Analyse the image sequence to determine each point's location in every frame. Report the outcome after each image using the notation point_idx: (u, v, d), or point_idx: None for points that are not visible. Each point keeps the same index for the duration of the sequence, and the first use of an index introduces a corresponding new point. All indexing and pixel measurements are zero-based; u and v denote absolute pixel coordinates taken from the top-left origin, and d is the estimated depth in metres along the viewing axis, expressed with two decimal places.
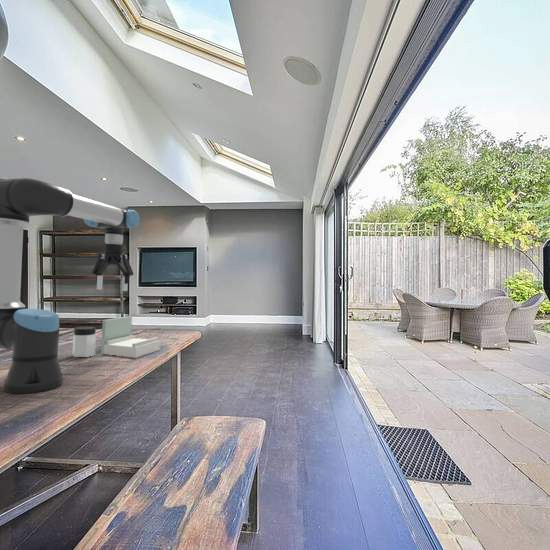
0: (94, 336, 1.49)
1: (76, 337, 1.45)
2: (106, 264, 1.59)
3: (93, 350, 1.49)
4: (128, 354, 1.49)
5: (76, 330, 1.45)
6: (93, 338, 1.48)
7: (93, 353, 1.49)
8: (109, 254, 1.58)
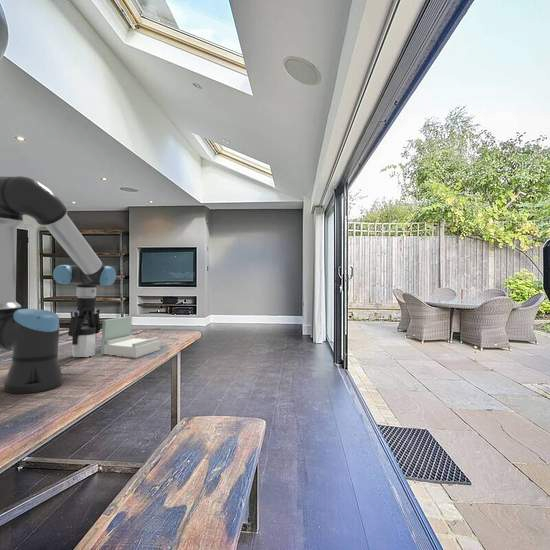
0: (94, 336, 1.49)
1: None
2: (88, 319, 1.51)
3: (93, 350, 1.48)
4: (128, 354, 1.49)
5: None
6: (93, 338, 1.48)
7: (93, 353, 1.48)
8: None
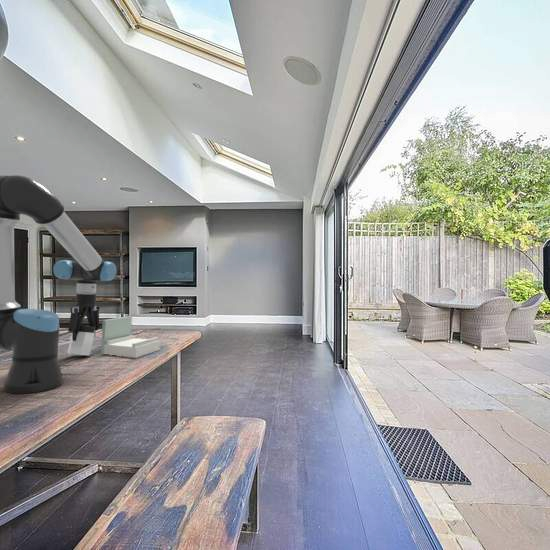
0: (92, 335, 1.48)
1: None
2: (87, 316, 1.51)
3: (89, 349, 1.46)
4: (128, 354, 1.49)
5: None
6: (91, 337, 1.47)
7: (88, 352, 1.46)
8: None
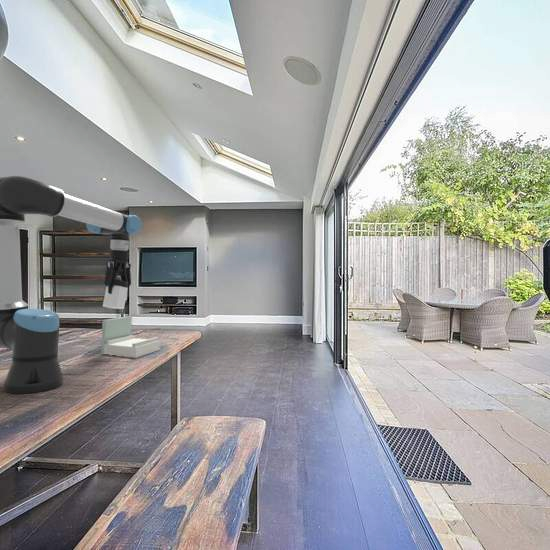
0: (126, 289, 1.55)
1: None
2: (120, 272, 1.58)
3: (123, 303, 1.53)
4: (128, 354, 1.49)
5: None
6: (125, 291, 1.54)
7: (123, 305, 1.53)
8: None
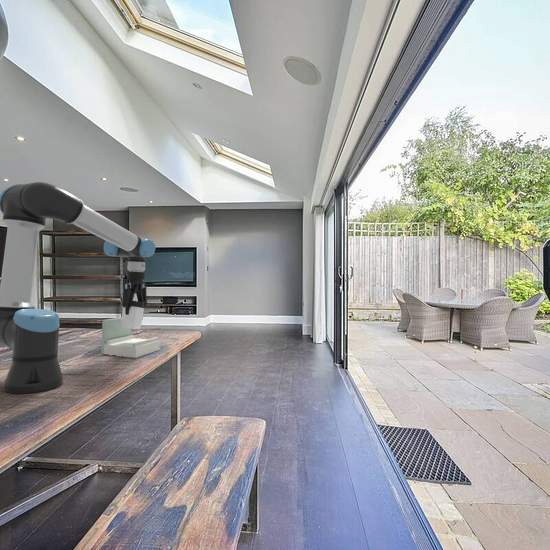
0: (142, 310, 1.58)
1: None
2: (137, 292, 1.61)
3: (140, 323, 1.57)
4: (128, 354, 1.49)
5: None
6: (141, 312, 1.58)
7: (139, 326, 1.57)
8: None
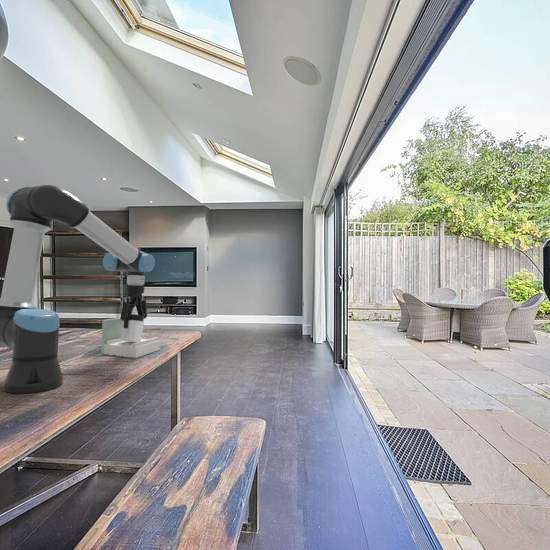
0: (142, 323, 1.59)
1: None
2: (137, 305, 1.61)
3: (140, 336, 1.57)
4: (128, 354, 1.49)
5: None
6: (141, 325, 1.58)
7: (139, 339, 1.57)
8: None
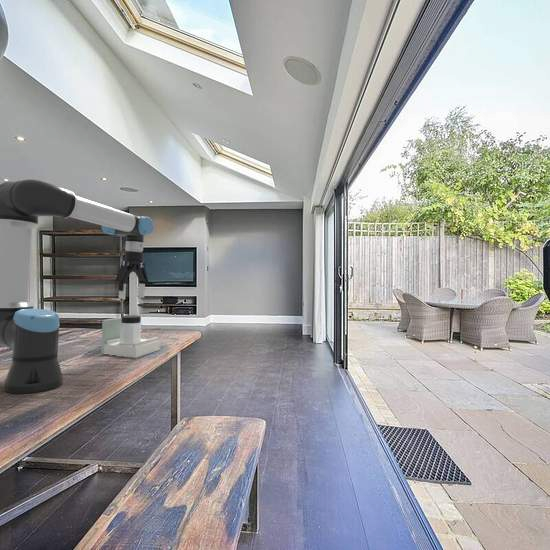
0: (140, 324, 1.57)
1: (124, 325, 1.53)
2: (136, 272, 1.61)
3: (139, 338, 1.57)
4: (128, 354, 1.49)
5: (124, 318, 1.53)
6: (139, 326, 1.57)
7: (139, 340, 1.57)
8: None
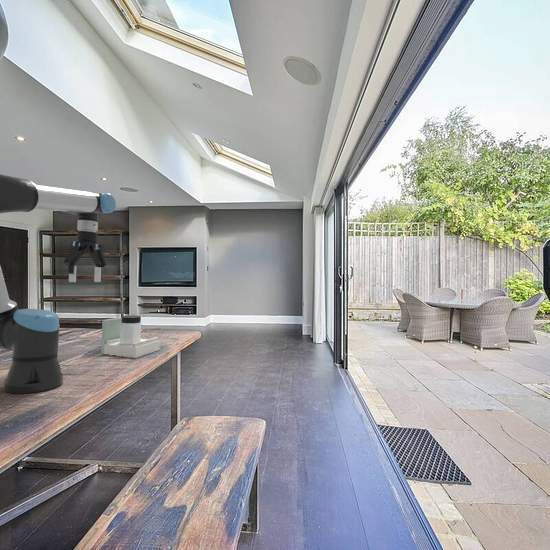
0: (140, 324, 1.57)
1: (124, 325, 1.53)
2: (91, 254, 1.49)
3: (139, 338, 1.57)
4: (128, 354, 1.49)
5: (124, 318, 1.53)
6: (139, 326, 1.57)
7: (139, 340, 1.57)
8: None
